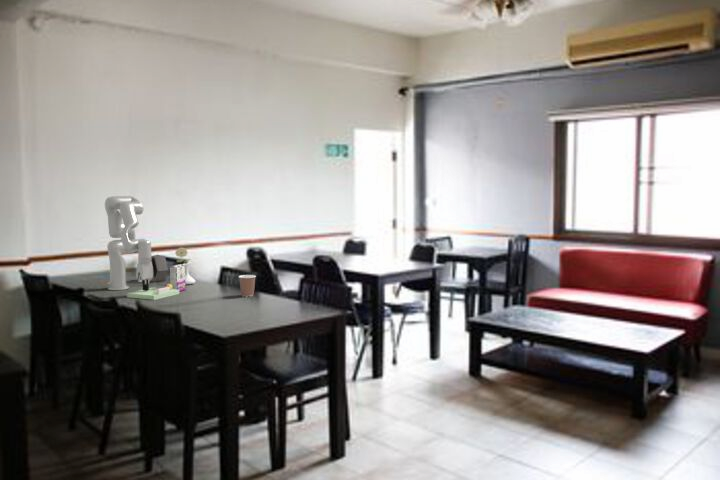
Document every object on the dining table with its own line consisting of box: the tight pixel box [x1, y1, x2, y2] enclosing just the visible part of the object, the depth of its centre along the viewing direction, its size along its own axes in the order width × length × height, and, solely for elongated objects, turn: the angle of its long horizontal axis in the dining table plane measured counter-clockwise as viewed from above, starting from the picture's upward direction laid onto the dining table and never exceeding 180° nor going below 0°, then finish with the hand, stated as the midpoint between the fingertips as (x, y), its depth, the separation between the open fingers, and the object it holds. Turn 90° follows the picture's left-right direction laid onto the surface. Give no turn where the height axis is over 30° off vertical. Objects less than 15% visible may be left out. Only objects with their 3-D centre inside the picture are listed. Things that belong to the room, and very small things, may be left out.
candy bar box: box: [169, 264, 187, 293], centre depth 389 cm, size 11×5×16 cm, turn 168°
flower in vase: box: [174, 247, 196, 285], centre depth 416 cm, size 13×11×25 cm
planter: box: [150, 255, 169, 283], centre depth 431 cm, size 17×8×21 cm
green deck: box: [126, 286, 180, 301], centre depth 375 cm, size 21×22×6 cm
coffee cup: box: [238, 274, 257, 298], centre depth 374 cm, size 10×10×12 cm
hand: (145, 290), depth 375 cm, fingers closed
